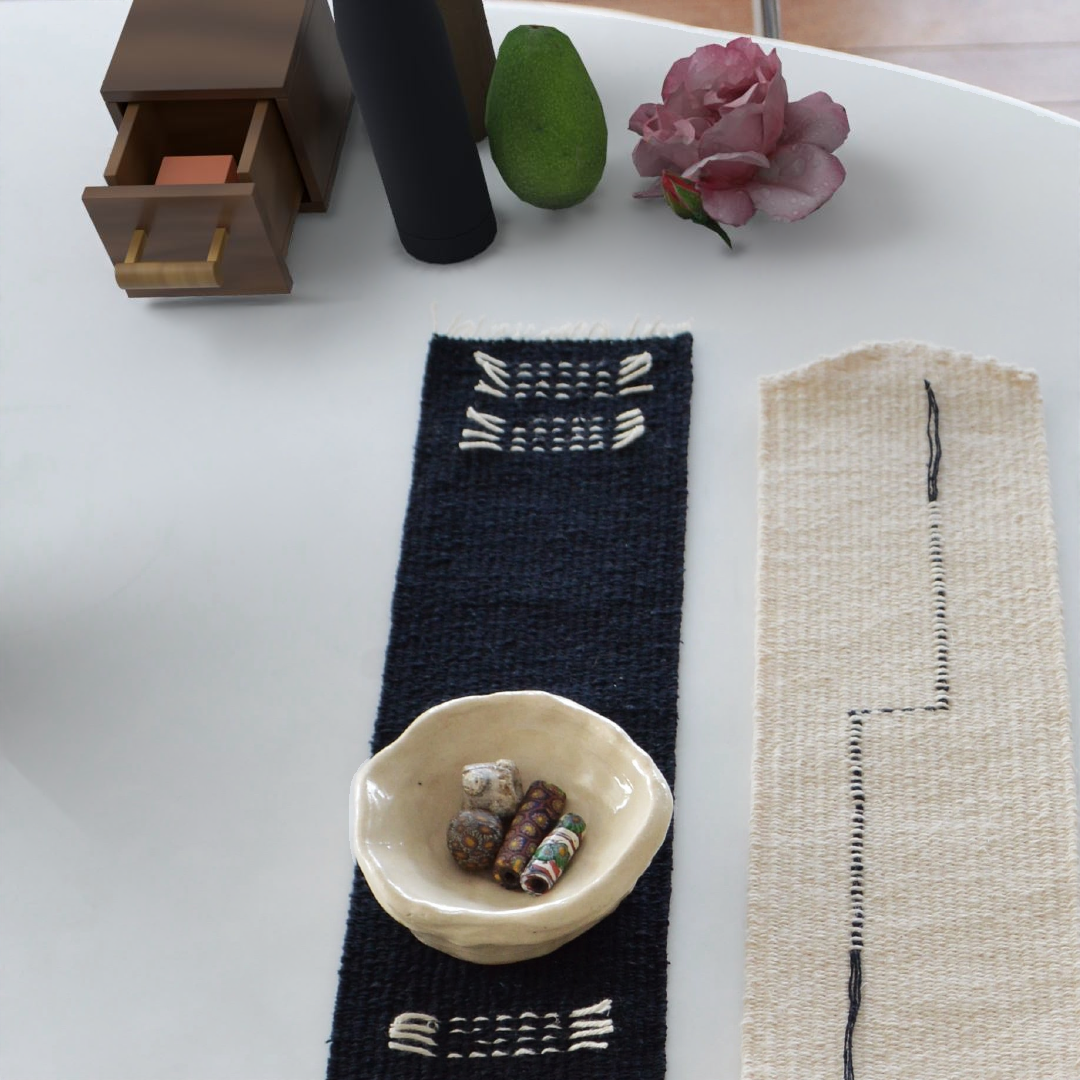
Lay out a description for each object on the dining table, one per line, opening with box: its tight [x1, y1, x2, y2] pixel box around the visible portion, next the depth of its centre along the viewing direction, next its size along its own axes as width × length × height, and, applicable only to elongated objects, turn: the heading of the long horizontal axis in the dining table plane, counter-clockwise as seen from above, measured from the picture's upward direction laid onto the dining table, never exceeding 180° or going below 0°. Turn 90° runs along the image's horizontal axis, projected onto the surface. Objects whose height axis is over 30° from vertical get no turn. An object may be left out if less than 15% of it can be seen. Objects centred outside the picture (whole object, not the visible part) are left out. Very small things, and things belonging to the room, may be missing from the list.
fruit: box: [485, 23, 609, 211], centre depth 114 cm, size 8×8×12 cm
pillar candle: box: [437, 0, 497, 144], centre depth 118 cm, size 10×10×15 cm
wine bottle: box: [331, 0, 498, 265], centre depth 104 cm, size 6×6×30 cm
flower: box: [627, 36, 851, 252], centre depth 115 cm, size 15×15×10 cm
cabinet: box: [99, 0, 356, 214], centre depth 118 cm, size 14×12×9 cm
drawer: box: [80, 98, 305, 299], centre depth 112 cm, size 17×10×7 cm, turn 2°
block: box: [155, 155, 241, 185], centre depth 112 cm, size 4×4×4 cm
